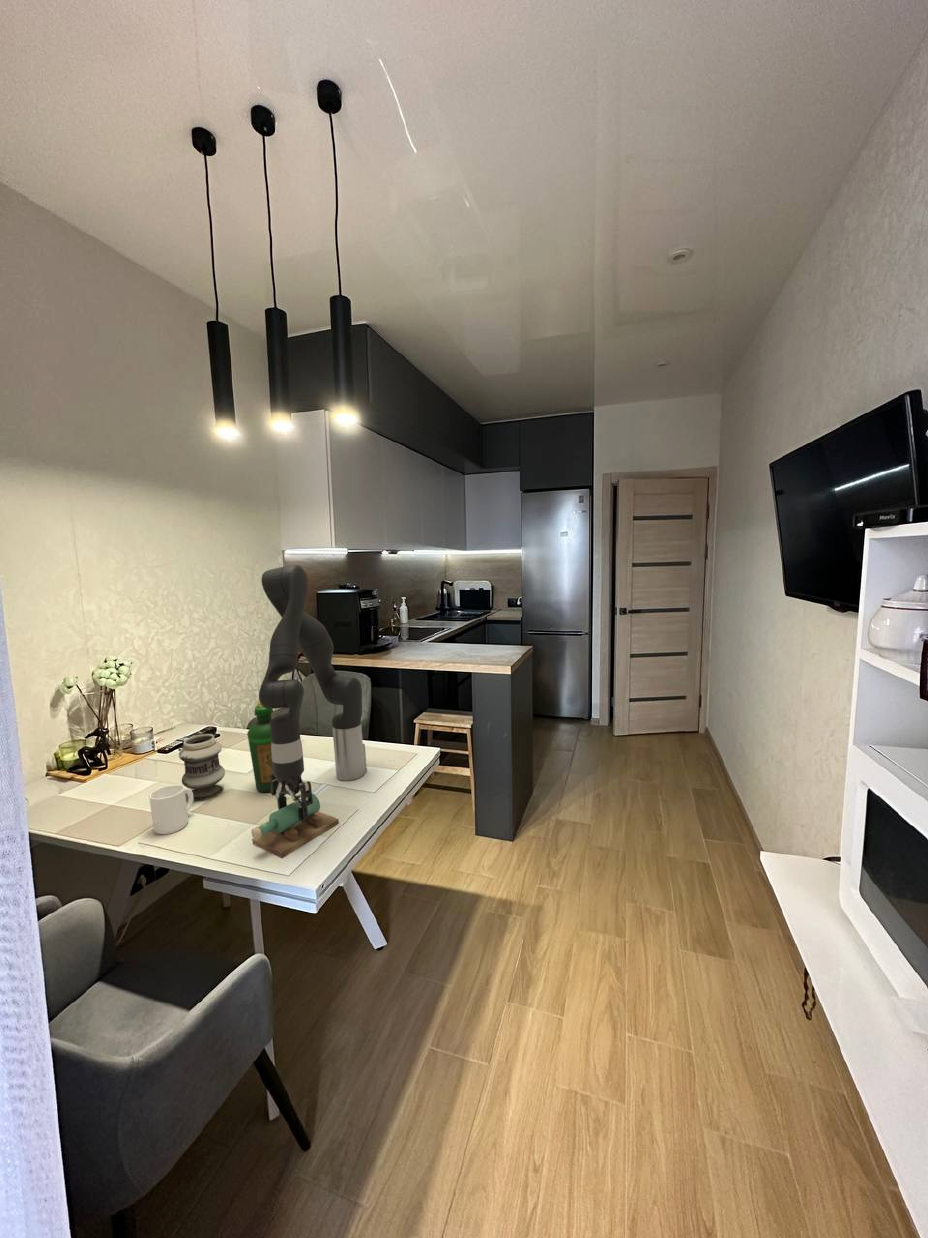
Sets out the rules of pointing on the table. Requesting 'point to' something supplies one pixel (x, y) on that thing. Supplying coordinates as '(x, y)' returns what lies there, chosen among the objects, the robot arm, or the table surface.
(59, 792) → the table surface
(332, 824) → the bottle rest
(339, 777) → the robot arm
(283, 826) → the bottle
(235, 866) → the table surface
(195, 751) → the apothecary jar
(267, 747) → the bottle
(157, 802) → the mug
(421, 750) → the table surface
